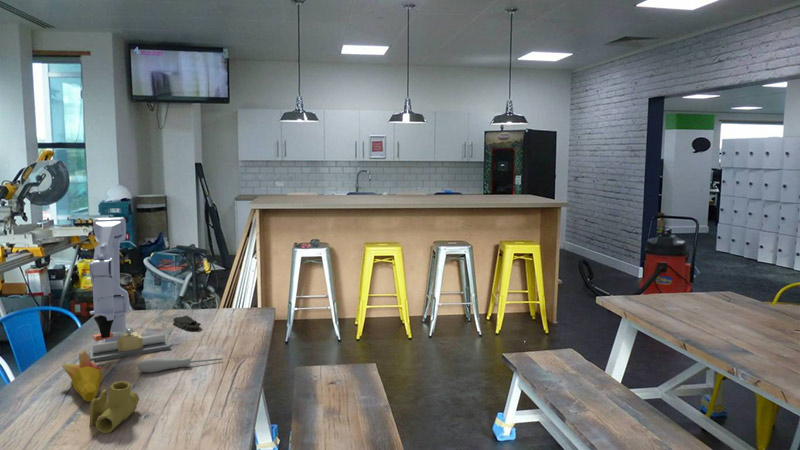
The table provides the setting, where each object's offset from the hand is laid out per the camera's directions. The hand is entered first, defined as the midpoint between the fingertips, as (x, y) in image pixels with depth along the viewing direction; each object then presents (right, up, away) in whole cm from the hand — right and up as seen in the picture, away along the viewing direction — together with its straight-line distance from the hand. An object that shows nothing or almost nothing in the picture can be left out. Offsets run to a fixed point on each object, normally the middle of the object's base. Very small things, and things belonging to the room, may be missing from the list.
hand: (105, 337), depth 178 cm
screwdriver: (+27, -9, -6) cm, 29 cm away
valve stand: (+4, -6, +8) cm, 11 cm away
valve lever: (+1, 0, +3) cm, 4 cm away
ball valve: (+24, -13, -42) cm, 50 cm away
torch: (+7, -11, -25) cm, 28 cm away
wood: (+12, -3, +38) cm, 39 cm away
